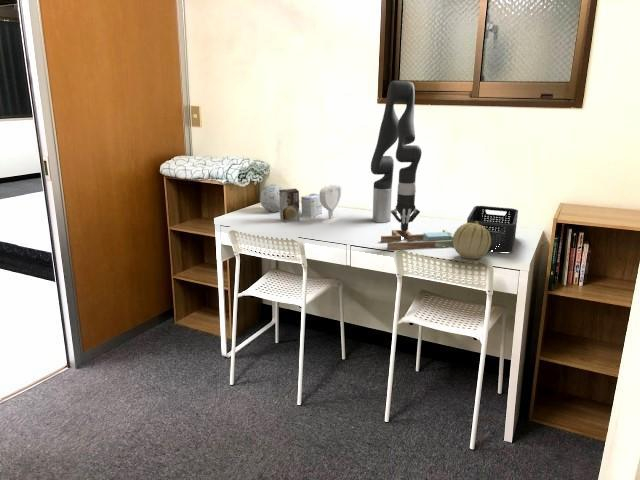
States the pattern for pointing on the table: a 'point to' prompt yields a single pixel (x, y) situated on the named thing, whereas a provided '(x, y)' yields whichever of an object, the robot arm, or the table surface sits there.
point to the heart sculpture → (330, 200)
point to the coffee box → (289, 205)
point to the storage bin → (497, 226)
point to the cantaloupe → (471, 240)
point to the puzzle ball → (271, 198)
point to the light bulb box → (311, 205)
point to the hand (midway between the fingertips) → (404, 231)
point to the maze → (409, 245)
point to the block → (436, 236)
